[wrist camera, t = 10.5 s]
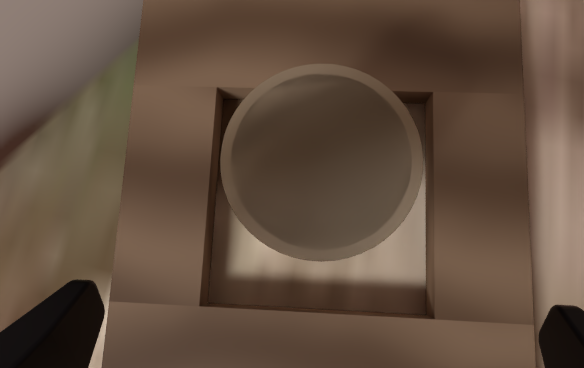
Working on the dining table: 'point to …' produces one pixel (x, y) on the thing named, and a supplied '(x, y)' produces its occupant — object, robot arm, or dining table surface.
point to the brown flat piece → (439, 184)
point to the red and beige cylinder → (321, 162)
